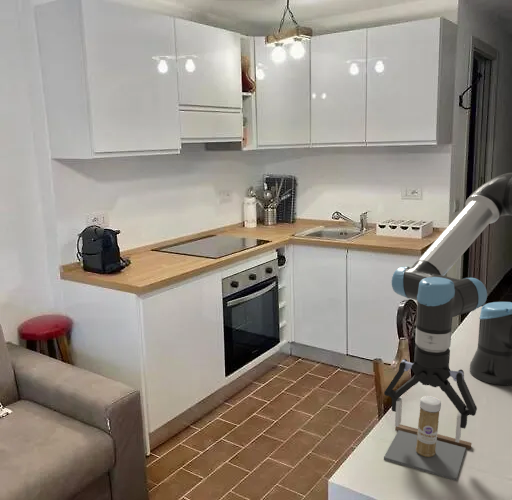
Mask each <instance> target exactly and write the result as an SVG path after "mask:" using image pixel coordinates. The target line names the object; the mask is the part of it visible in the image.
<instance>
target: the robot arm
mask: <svg viewBox="0 0 512 500" xmlns="http://www.w3.org/2000/svg"><path fill="white" fill-rule="evenodd" d="M464 205H465V207H464V208H463V209H462V210H461V211H460V212H459V213H458V214H457V216H456V217H455V218H454V219H453V220H452V221H451V222H450V224H449V225H448V226H447V227H445V229H444V230H443V232H441V234H440V235H439V236H438V237H436V239H435V240H434V242H432V244H431V245H430V246H429V247H428V248H427V249H426V250H425V251H424V253H423V254H422V255H421V256H420V257H419V258H418V259H417V261H416V262H415V263H414V264H413V265H412V266H411V267H410V266H400V267H398V268H396V269H395V271H394V272H393V274H392V276H391V287H392V290H393V292H394V293H396V294H397V295H399V296H401V297H404V298H407V299H412V300H415V301H417V305H416V325H415V338H414V339H415V340H414V341H415V342H414V343H415V345H414V359H413V362H410V361H408V360H407V359H406V358H403V359H402V360H401V361H400V363H399V366H398V371H397V372H396V374H395V376H394V377H393V378H392V379H391V382H390V383H389V385H388V386H387V387H386V389H385V390H384V393H383V394H384V395H385V396H386V397H390V398H391V411H392V412H394V413H395V418H394V419H395V420H394V422H395V423H394V426H395V427H398V426H399V425H400V424H401V423H402V415H403V414H402V410H403V397H402V395H404V394H405V393H406V392H407V391H409V390H410V389H411V388H412V387H414V386H415V385H417V384H418V383H421V384H422V385H423V386H430V387H432V388H438V387H439V388H440V390H441V392H444V394H445V395H446V397H448V400H450V401H451V403H452V404H453V405H454V407H455V409H456V410H457V411H458V412H457V415H456V424H455V425H456V427H455V437H454V438H455V442H458V443H459V440H461V435H462V429H466V428H467V424H468V416H472V417H473V416H476V414H477V410H478V407H477V405H476V402H475V401H474V398H473V396H472V393H471V392H470V389H469V387H468V385H467V383H466V380H465V372H464V370H462V369H458V370H451V369H450V357H451V350H450V347H451V343H452V341H451V340H452V326H453V325H452V324H453V318H454V317H458V316H460V315H464V314H466V313H470V312H473V311H475V310H478V309H479V308H481V309H480V314H479V317H478V319H479V324H478V325H479V326H478V336H477V337H478V338H477V339H478V340H477V349H476V350H475V353H474V355H473V357H472V360H471V361H470V364H469V373H470V374H471V376H473V377H475V378H476V379H477V380H479V381H482V382H484V383H489V384H493V385H496V386H497V385H499V386H512V302H511V301H493V302H488V303H486V301H487V300H488V299H487V298H488V290H487V288H486V286H485V285H484V284H485V283H483V282H482V281H481V280H479V279H478V278H475V277H464V278H461V279H458V278H454V277H451V276H446V274H447V273H448V272H449V271H450V270H451V269H452V267H453V266H454V265H455V264H456V263H457V262H458V261H459V259H460V258H461V257H462V256H463V254H464V253H465V252H466V251H467V250H468V248H470V246H471V245H472V244H473V243H474V242H475V241H476V239H478V237H479V236H480V235H481V233H483V232H484V230H485V229H486V228H487V227H488V225H489V224H491V225H492V224H494V223H495V222H497V221H498V219H499V218H500V217H504V216H512V172H507V173H504V174H499V175H498V176H495V177H493V178H491V179H490V180H487V181H486V182H485V183H483V184H481V186H479V187H478V188H477V189H475V190H474V191H473V192H472V193H471V194H470V195H469V197H467V199H466V200H465V203H464ZM409 369H411V370H412V372H413V373H414V375H413V376H412V377H411V378H409V379H408V380H407V381H406V382H405V383H403V385H401V386H400V387H399V388H397V389H395V387H396V385H397V384H398V382H399V381H400V379H401V378H402V376H403V374H405V372H408V371H409ZM450 377H451V378H452V379H453V381H454V382H456V385H457V388H458V390H459V393H460V394H461V397H462V398H461V397H460V396H459V394H458V393H457V392H456V391H455V388H454V387H453V386H452V385H451V383H450V381H449V378H450ZM394 389H395V390H394ZM462 399H463V400H462Z"/></svg>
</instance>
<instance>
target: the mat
mask: <svg viewBox="0 0 512 500" xmlns="http://www.w3.org/2000/svg"><path fill="white" fill-rule="evenodd" d="M416 446H417V435H415V434H411V433H407V432H404V431H400V430H397V432H396V434H395V436H394V438H393V440H392V441H391V443H390V445H389V447H388V448H387V450H386V453H385V454H384V456H383V460H385V461H387V462H392V463H395V464H398V465H401V466H404V467H408V468H411V469H415V470H419V471H422V472H425V473H429V474H431V475H436V476H438V477H442V478H447V479H449V480H453V481H458V476H459V473H460V470H461V467H462V463H463V460H464V457H465V453H466V448H464V447H461V446H457V445H453V444H449V443H445V442H442V441H438V440H437V441H436V448H435V451H436V452H435V455H434V456H431V457H425V456H422V455H420V454H418V453H417V451H416Z"/></svg>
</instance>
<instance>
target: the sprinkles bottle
mask: <svg viewBox="0 0 512 500" xmlns="http://www.w3.org/2000/svg"><path fill="white" fill-rule="evenodd" d="M441 407H442V401H441V400H440V399H439V398H437V397H436V396H432V395H424V396H422V397H421V398H420V399H419V417H418V423H417V429H418V432H417V446H416V451H417V453H418V454H420V455H422V456H425V457H431V456H434V455H435V452H436V451H435V448H436V441H437V434H438V431H439V419H440V411H441Z"/></svg>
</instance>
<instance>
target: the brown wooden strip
mask: <svg viewBox="0 0 512 500" xmlns="http://www.w3.org/2000/svg"><path fill="white" fill-rule="evenodd" d="M394 429H395V431H398V430H400V431H404V432H407V433H411V434H415V435H417V432H418V428H416V427H412V426H408V425H404V424H401V423H400V425H399V426H398V427H396V426H395V427H394ZM455 438H456V437H450V436H447V435H443V434H441V433H440V434H439V433H437V440H438V441H442V442H445V443H449V444H453V445H457V446H461V447H464V448H466V449H467V450H471V448H472V444H473V443H472V442H470V441H466V440H463V439H460V440H459V443H458V442H455Z"/></svg>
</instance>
